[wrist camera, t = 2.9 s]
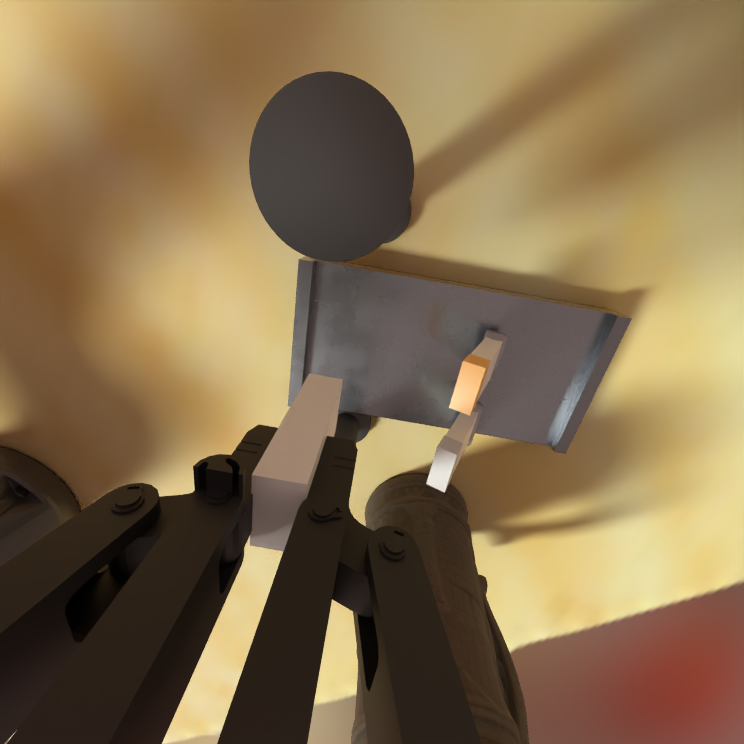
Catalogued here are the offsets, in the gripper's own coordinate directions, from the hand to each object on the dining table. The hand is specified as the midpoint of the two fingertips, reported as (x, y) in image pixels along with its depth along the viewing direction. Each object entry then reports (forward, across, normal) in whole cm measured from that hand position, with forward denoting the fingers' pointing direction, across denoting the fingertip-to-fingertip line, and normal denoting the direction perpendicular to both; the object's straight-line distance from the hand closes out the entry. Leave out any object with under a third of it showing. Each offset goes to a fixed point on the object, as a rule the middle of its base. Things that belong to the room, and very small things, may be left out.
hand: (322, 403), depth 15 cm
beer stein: (+15, +12, -21) cm, 28 cm away
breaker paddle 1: (+11, +10, 0) cm, 16 cm away
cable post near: (+14, 0, +8) cm, 17 cm away
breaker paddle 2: (+11, +10, -6) cm, 17 cm away
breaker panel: (+14, +8, -2) cm, 16 cm away
